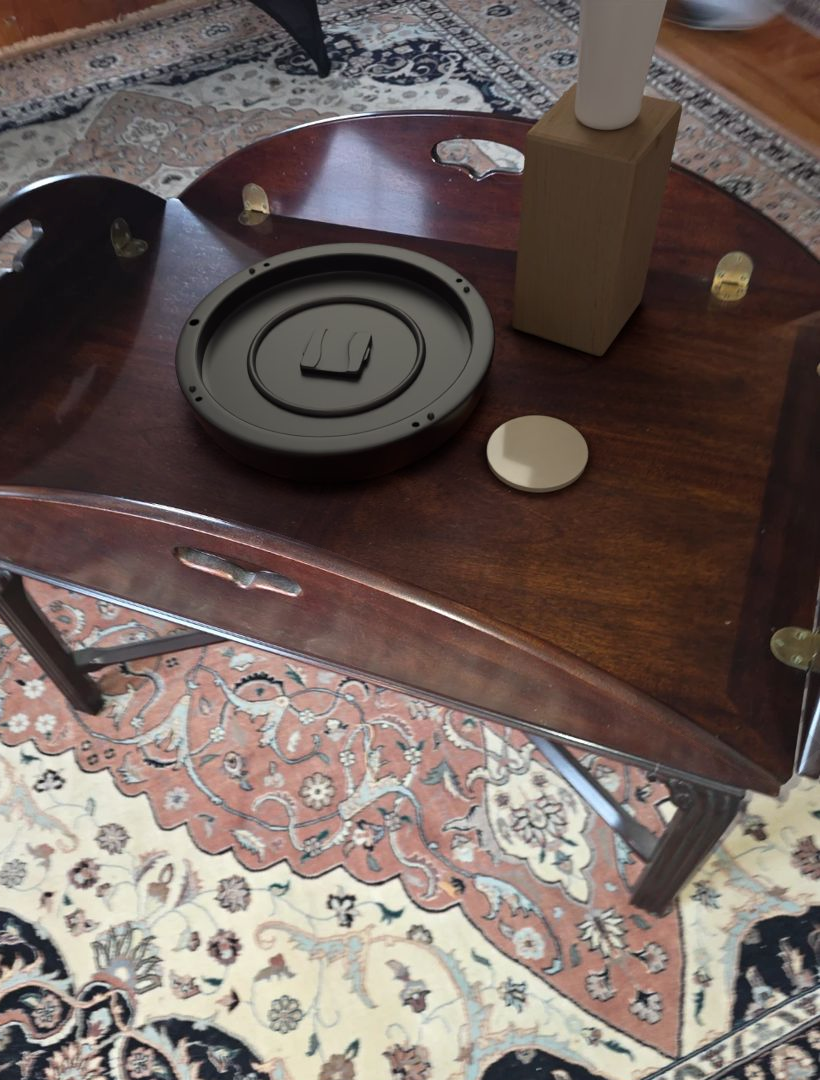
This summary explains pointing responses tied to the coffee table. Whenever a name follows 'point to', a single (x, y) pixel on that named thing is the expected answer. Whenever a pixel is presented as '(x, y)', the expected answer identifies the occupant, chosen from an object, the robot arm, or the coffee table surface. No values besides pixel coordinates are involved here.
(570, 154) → the wooden block
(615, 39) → the drinking glass
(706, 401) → the coffee table surface
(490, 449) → the coaster
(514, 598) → the coffee table surface
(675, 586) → the coffee table surface
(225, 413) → the round tray
